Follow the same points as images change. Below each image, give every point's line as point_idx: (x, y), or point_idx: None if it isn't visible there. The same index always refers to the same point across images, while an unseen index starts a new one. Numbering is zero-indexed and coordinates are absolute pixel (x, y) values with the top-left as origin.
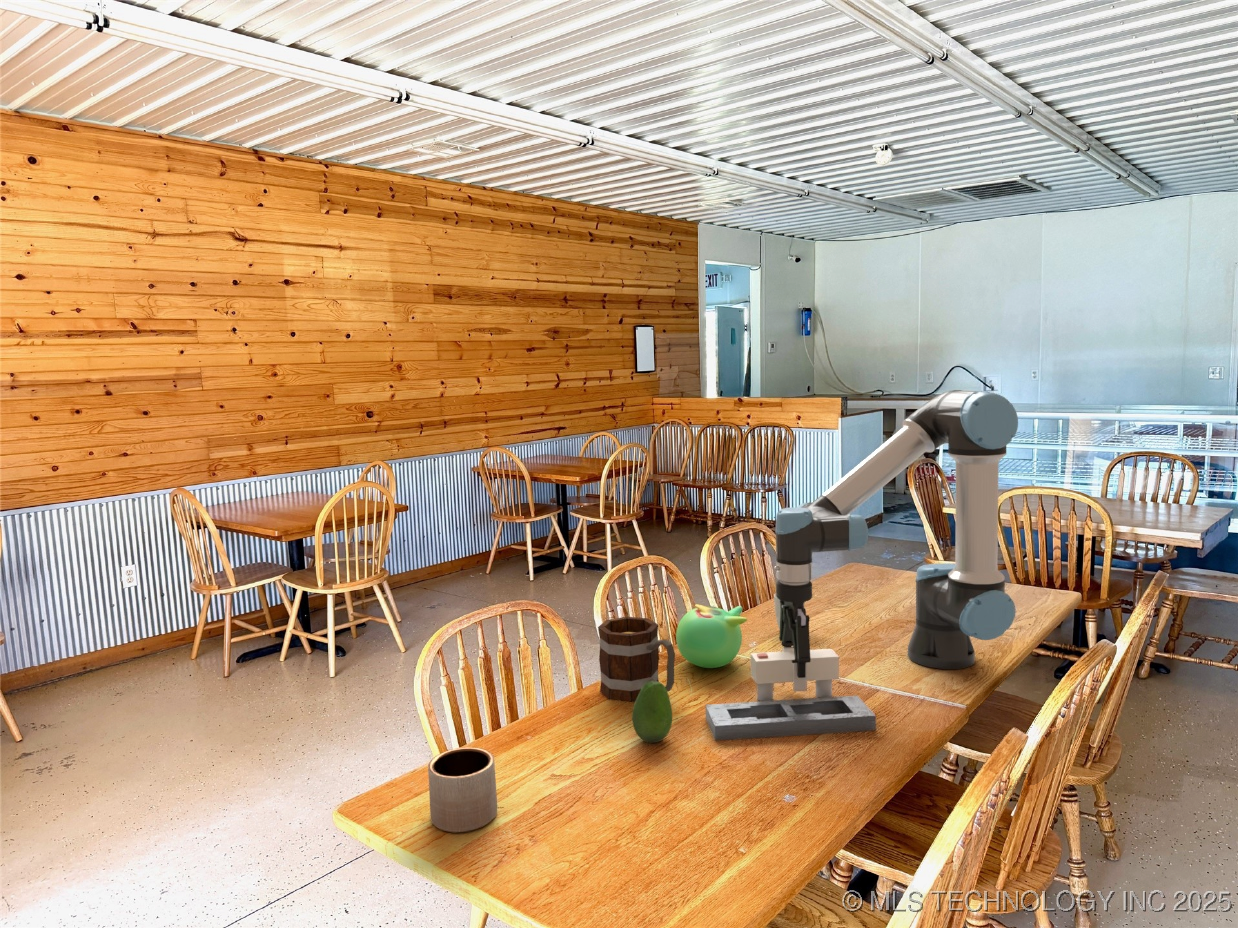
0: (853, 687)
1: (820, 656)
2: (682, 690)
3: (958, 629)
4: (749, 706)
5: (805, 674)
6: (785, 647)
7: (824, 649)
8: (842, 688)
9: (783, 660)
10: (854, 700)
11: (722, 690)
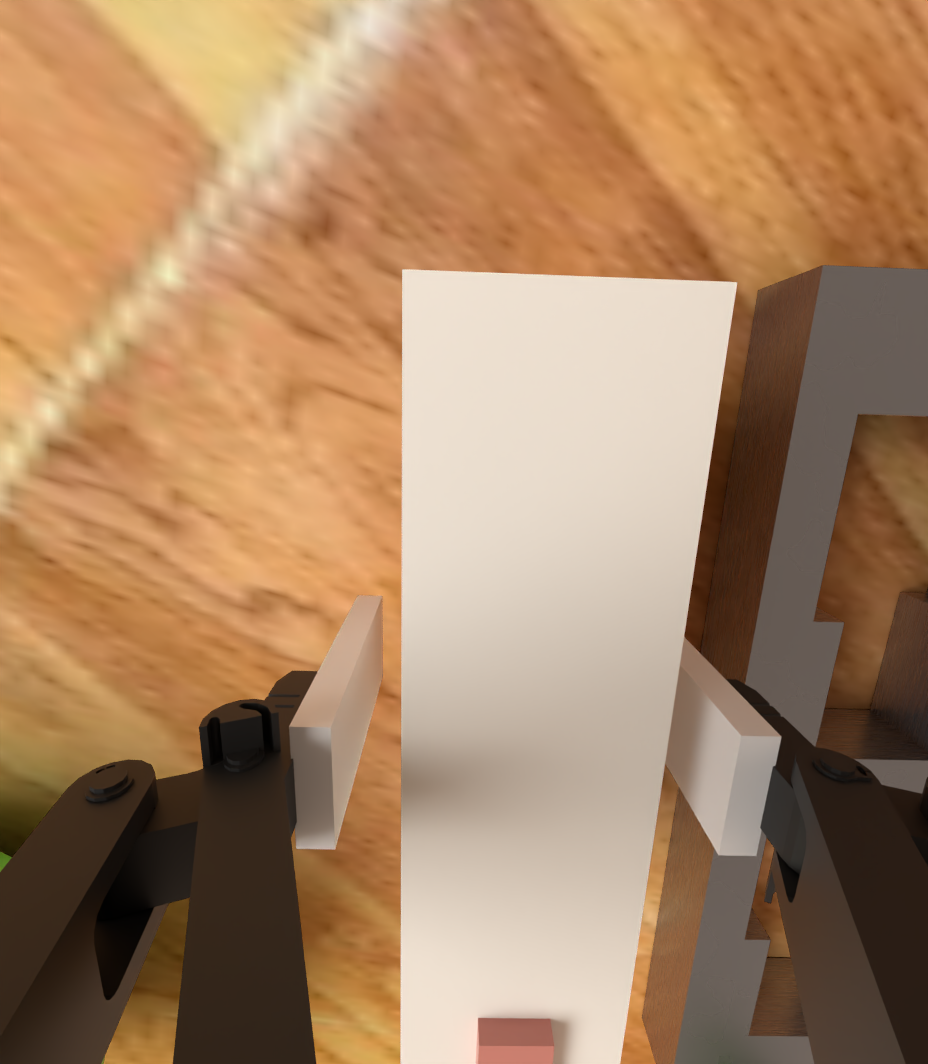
0: (415, 158)
1: (657, 527)
2: (323, 1050)
3: None
4: (753, 942)
5: (761, 696)
6: (299, 819)
7: (422, 383)
8: (420, 252)
9: (639, 908)
10: (898, 328)
11: (347, 907)
